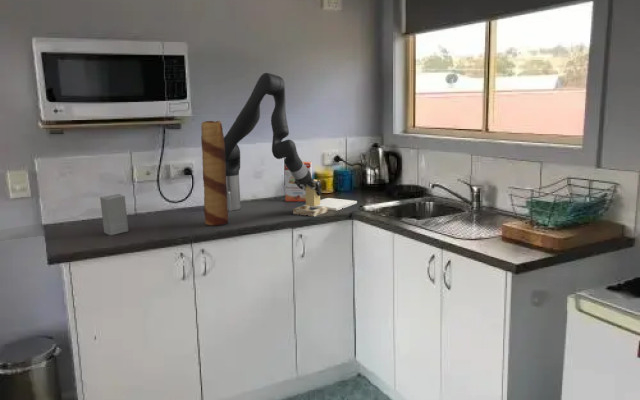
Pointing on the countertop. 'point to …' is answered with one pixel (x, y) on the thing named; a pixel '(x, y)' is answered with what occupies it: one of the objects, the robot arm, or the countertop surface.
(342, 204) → the chopping board
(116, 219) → the skincare box
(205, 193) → the wafer roll
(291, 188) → the cracker box
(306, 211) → the pocket
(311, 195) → the block
